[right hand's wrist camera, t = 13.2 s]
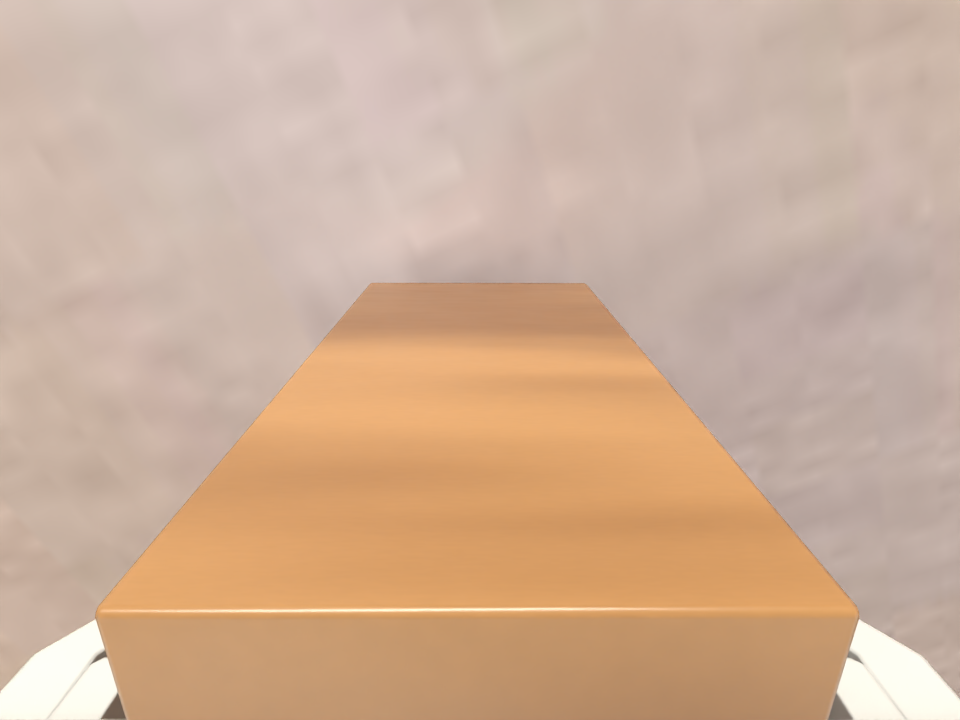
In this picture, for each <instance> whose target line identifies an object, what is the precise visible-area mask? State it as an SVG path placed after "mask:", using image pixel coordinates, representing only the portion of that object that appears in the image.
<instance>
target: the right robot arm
mask: <svg viewBox="0 0 960 720" xmlns="http://www.w3.org/2000/svg"><path fill="white" fill-rule="evenodd" d="M0 720H126V717H125V714H124V711H123V707H122V704H121V701H120V698H119V694H118V691H117V688H116V684H115V681H114V678H113V675H112V671H111V668H110V665H109V661H108V658H107V655H106V652H105V648H104V645H103V642H102V638H101V635H100V632H99V629H98V625H97V622H96V619H95V620H93V621H92V622H90V623H88V624H86V625H85V626H83V627H81V628H79V629H78V630H76V631H74V632H72V633H71V634H69V635H67V636H65V637H64V638H62V639H60V640H58V641H57V642H55V643H53V644H51V645H50V646H48V647H46V648H44V649H43V650H41V651H39V652H37V653H36V654H34V655H33V656H32V657H31V658H30V659H29V660H28V662H27V663H26V664H25V665H24V666H23V667H22V668H21V669H20V670H19V672H18V673H17V674H16V675H15V676H14V677H13V678H12V679H11V680H10V682H9V683H8V684H7V685H6V686H5V687H4V688H3V689H2V690H1V692H0ZM828 720H960V698H959V697H958V696H957V695H956V694H955V692H954V691H953V690H952V689H951V688H950V687H949V686H948V685H947V683H946V682H945V681H944V680H943V679H942V678H941V677H940V675H939V674H938V673H937V672H936V671H935V670H934V669H933V668H932V666H931V665H930V664H929V663H928V662H927V661H926V660H925V659H924V657H923V656H922V655H920V654H918V653H917V652H915V651H913V650H911V649H910V648H908V647H906V646H904V645H903V644H901V643H899V642H898V641H896V640H894V639H892V638H891V637H889V636H887V635H885V634H884V633H882V632H880V631H878V630H877V629H875V628H873V627H872V626H870V625H868V624H866V623H865V622H863V621H861V620H858V624H857V627H856V630H855V633H854V637H853V640H852V643H851V646H850V650H849V653H848V656H847V660H846V663H845V666H844V669H843V673H842V676H841V679H840V682H839V686H838V689H837V692H836V696H835V699H834V702H833V705H832V709H831V712H830V715H829V718H828Z"/></svg>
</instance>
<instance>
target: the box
mask: <svg viewBox="0 0 960 720" xmlns="http://www.w3.org/2000/svg"><path fill="white" fill-rule="evenodd" d="M95 619H96V622H97V625H98V629H99V632H100V635H101V638H102V642H103V645H104V648H105V652H106V655H107V658H108V661H109V665H110V668H111V671H112V675H113V678H114V681H115V684H116V688H117V691H118V694H119V698H120V701H121V704H122V707H123V711H124V714H125V717H126V720H828V718H829V715H830V712H831V709H832V705H833V702H834V699H835V696H836V692H837V689H838V686H839V682H840V679H841V676H842V673H843V669H844V666H845V663H846V660H847V656H848V653H849V650H850V646H851V643H852V640H853V637H854V633H855V630H856V627H857V624H858V620H859V611H858V609H857V606H856V605H855V604H854V602H853V601H852V600H851V599H850V598H849V597H848V595H847V594H846V593H845V592H844V591H843V589H842V588H841V587H840V586H839V585H838V583H837V582H836V581H835V580H834V579H833V577H832V576H831V575H830V574H829V573H828V572H827V570H826V569H825V568H824V567H823V566H822V564H821V563H820V562H819V561H818V560H817V558H816V557H815V556H814V555H813V554H812V552H811V551H810V550H809V549H808V548H807V547H806V545H805V544H804V543H803V542H802V541H801V539H800V538H799V537H798V536H797V535H796V533H795V532H794V531H793V530H792V529H791V527H790V526H789V525H788V524H787V523H786V522H785V520H784V519H783V518H782V517H781V516H780V514H779V513H778V512H777V511H776V510H775V508H774V507H773V506H772V505H771V504H770V502H769V501H768V500H767V499H766V498H765V497H764V495H763V494H762V493H761V492H760V491H759V489H758V488H757V487H756V486H755V485H754V483H753V482H752V481H751V480H750V479H749V477H748V476H747V475H746V474H745V473H744V472H743V470H742V469H741V468H740V467H739V466H738V464H737V463H736V462H735V461H734V460H733V458H732V457H731V456H730V455H729V454H728V452H727V451H726V450H725V449H724V448H723V447H722V445H721V444H720V443H719V442H718V441H717V439H716V438H715V437H714V436H713V435H712V433H711V432H710V431H709V430H708V429H707V427H706V426H705V425H704V424H703V423H702V422H701V420H700V419H699V418H698V417H697V416H696V414H695V413H694V412H693V411H692V410H691V408H690V407H689V406H688V405H687V404H686V402H685V401H684V400H683V399H682V398H681V397H680V395H679V394H678V393H677V392H676V391H675V389H674V388H673V387H672V386H671V385H670V383H669V382H668V381H667V380H666V379H665V377H664V376H663V375H662V374H661V373H660V371H659V370H658V369H657V368H656V367H655V366H654V364H653V363H652V362H651V361H650V360H649V358H648V357H647V356H646V355H645V354H644V352H643V351H642V350H641V349H640V348H639V346H638V345H637V344H636V343H635V342H634V341H633V339H632V338H631V337H630V336H629V335H628V333H627V332H626V331H625V330H624V329H623V327H622V326H621V325H620V324H619V323H618V321H617V320H616V319H615V318H614V317H613V316H612V314H611V313H610V312H609V311H608V310H607V308H606V307H605V306H604V305H603V304H602V302H601V301H600V300H599V299H598V298H597V296H596V295H595V294H594V293H593V292H592V291H591V289H590V288H589V287H588V286H587V285H586V284H585V283H371V284H370V285H369V286H368V287H367V288H366V289H365V291H364V292H363V293H362V294H361V295H360V297H359V298H358V299H357V300H356V301H355V302H354V304H353V305H352V306H351V307H350V308H349V310H348V311H347V312H346V313H345V314H344V315H343V317H342V318H341V319H340V320H339V321H338V323H337V324H336V325H335V326H334V327H333V329H332V330H331V331H330V332H329V333H328V334H327V336H326V337H325V338H324V339H323V340H322V342H321V343H320V344H319V345H318V346H317V348H316V349H315V350H314V351H313V352H312V353H311V355H310V356H309V357H308V358H307V359H306V361H305V362H304V363H303V364H302V365H301V366H300V368H299V369H298V370H297V371H296V372H295V374H294V375H293V376H292V377H291V378H290V380H289V381H288V382H287V383H286V384H285V385H284V387H283V388H282V389H281V390H280V391H279V393H278V394H277V395H276V396H275V397H274V399H273V400H272V401H271V402H270V403H269V404H268V406H267V407H266V408H265V409H264V410H263V412H262V413H261V414H260V415H259V416H258V417H257V419H256V420H255V421H254V422H253V423H252V425H251V426H250V427H249V428H248V429H247V431H246V432H245V433H244V434H243V435H242V436H241V438H240V439H239V440H238V441H237V442H236V444H235V445H234V446H233V447H232V448H231V450H230V451H229V452H228V453H227V454H226V455H225V457H224V458H223V459H222V460H221V461H220V463H219V464H218V465H217V466H216V467H215V468H214V470H213V471H212V472H211V473H210V474H209V476H208V477H207V478H206V479H205V480H204V482H203V483H202V484H201V485H200V486H199V487H198V489H197V490H196V491H195V492H194V493H193V495H192V496H191V497H190V498H189V499H188V501H187V502H186V503H185V504H184V505H183V506H182V508H181V509H180V510H179V511H178V512H177V514H176V515H175V516H174V517H173V518H172V519H171V521H170V522H169V523H168V524H167V525H166V527H165V528H164V529H163V530H162V531H161V533H160V534H159V535H158V536H157V537H156V538H155V540H154V541H153V542H152V543H151V544H150V546H149V547H148V548H147V549H146V550H145V551H144V553H143V554H142V555H141V556H140V557H139V559H138V560H137V561H136V562H135V563H134V565H133V566H132V567H131V568H130V569H129V570H128V572H127V573H126V574H125V575H124V576H123V578H122V579H121V580H120V581H119V582H118V584H117V585H116V586H115V587H114V588H113V589H112V591H111V592H110V593H109V594H108V595H107V597H106V598H105V599H104V600H103V601H102V602H101V604H100V605H99V606H98V608H97V611H96V616H95Z"/></svg>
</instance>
